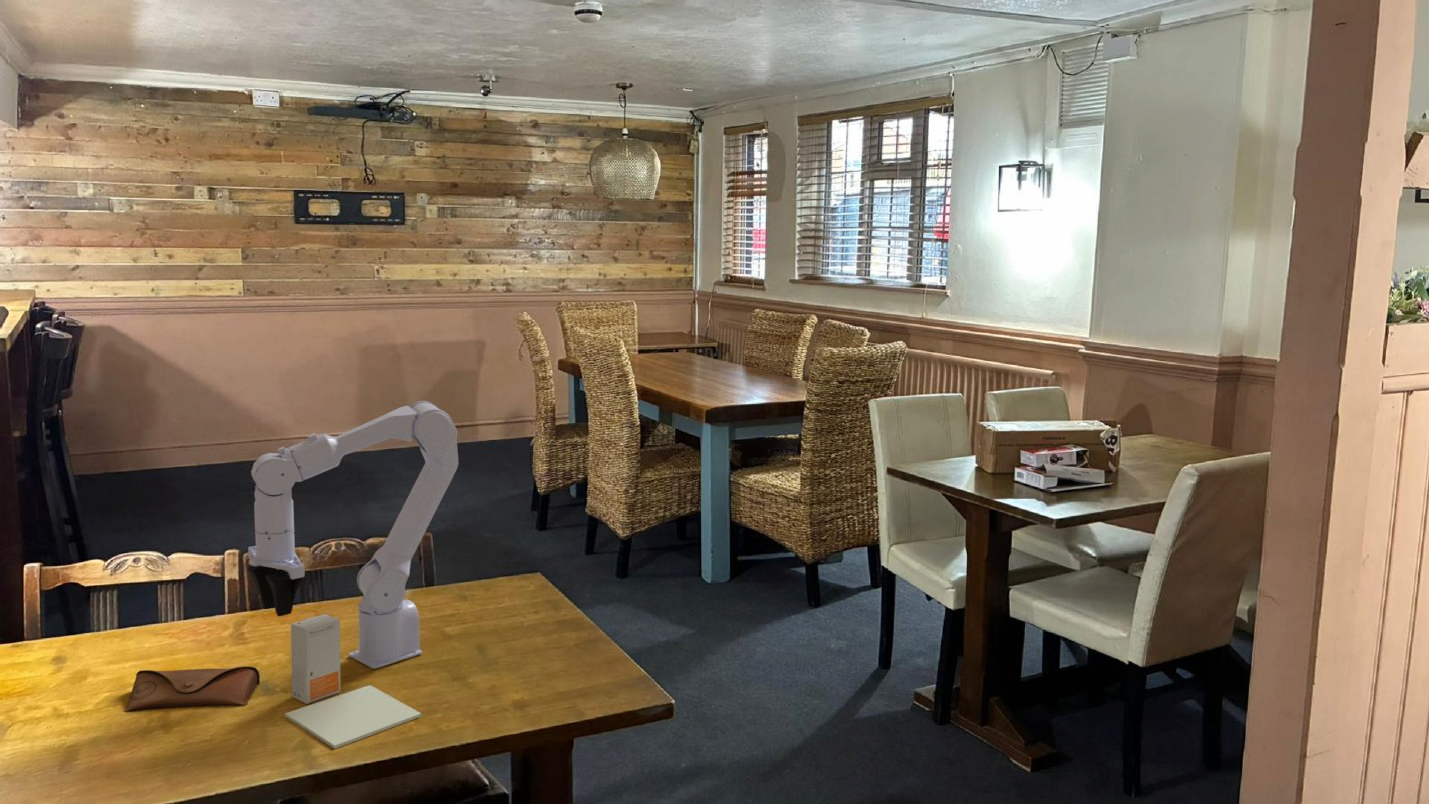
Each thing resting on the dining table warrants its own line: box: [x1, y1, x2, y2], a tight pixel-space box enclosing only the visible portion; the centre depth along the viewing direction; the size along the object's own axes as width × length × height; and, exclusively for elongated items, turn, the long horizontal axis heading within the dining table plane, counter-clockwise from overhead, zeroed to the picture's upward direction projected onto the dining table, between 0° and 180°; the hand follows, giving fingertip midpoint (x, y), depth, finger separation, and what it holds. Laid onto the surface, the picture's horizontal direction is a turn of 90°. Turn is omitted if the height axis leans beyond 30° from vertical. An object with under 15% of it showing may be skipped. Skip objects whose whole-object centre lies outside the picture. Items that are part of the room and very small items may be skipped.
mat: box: [284, 684, 422, 750], centre depth 156 cm, size 14×14×1 cm
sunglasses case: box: [123, 665, 261, 713], centre depth 161 cm, size 18×7×7 cm, turn 103°
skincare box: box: [290, 613, 342, 705], centre depth 162 cm, size 6×4×12 cm
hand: (277, 611), depth 169 cm, fingers open, 4 cm apart
